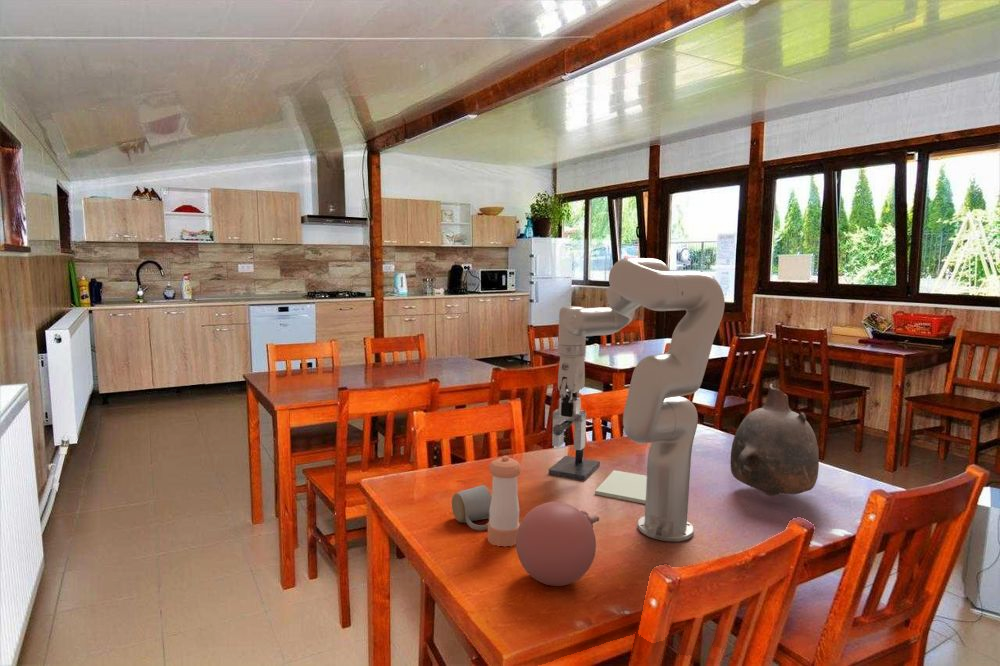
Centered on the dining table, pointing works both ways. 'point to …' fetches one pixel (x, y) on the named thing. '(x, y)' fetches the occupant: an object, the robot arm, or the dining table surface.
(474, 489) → the ceramic mug
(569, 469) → the stand
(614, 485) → the mat
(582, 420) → the stepped metal block
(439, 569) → the dining table surface
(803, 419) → the jug
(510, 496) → the salt shaker
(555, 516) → the balloon
